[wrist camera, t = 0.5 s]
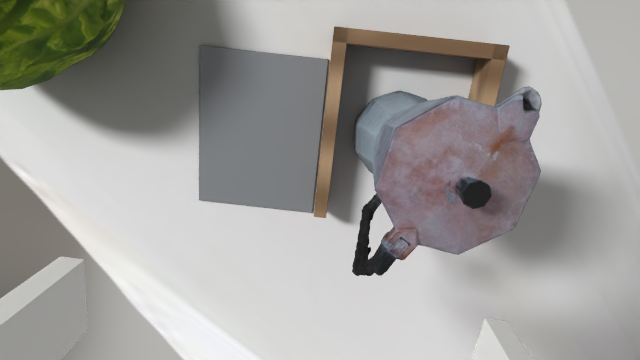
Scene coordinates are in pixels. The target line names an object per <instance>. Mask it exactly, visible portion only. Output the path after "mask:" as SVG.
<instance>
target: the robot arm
mask: <svg viewBox="0 0 640 360" xmlns="http://www.w3.org/2000/svg"><path fill="white" fill-rule="evenodd" d="M86 331H88V321H87V302H86V285H85V267H84V260H82V259H75V258H68V257H59V258H58V259H56V260H55V261H53V262H52V263H51V264H49V265H48V266H46V267H45V268H43V269H42V270H41V271H39V272H38V273H36V274H35V275H34V276H32V277H31V278H29V279H28V280H26V281H25V282H23V283H22V284H21V285H19V286H18V287H16V288H15V289H14V290H12V291H11V292H9V293H8V294H6V295H5V296H4V297H2V298H1V299H0V360H61V359H62V358H63V356H64V355H65V354H66V353H67V352H68V351H69V350H70V349H71V348H72V347H73V346H74V345H75V344H76V343H77V341H78V340H79V339H80V338H81V337H82V336H83V335H84V334H85V333H86ZM471 360H534V359H533V358H532V356H531V355H530V353H529V352H528V350H527V349H526V347H525V346H524V344H523V343H522V341H521V340H520V338H519V337H518V335H517V334H516V332H515V331H514V329H513V328H512V326H511V325H510V323H509V322H508V321H502V320H495V319H488V318H485V319H484V322H483V325H482V328H481V332H480V335H479V338H478V341H477V344H476V347H475V350H474V353H473V356H472V359H471Z"/></svg>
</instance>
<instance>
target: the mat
mask: <svg viewBox="0 0 640 360" xmlns="http://www.w3.org/2000/svg"><path fill="white" fill-rule="evenodd" d="M327 65H328V59H320V58H311V57H302V56H292V55H283V54H274V53H265V52H256V51H247V50H238V49H228V48H219V47H210V46H201V45H200V99H199V200H202V201H211V202H220V203H229V204H238V205H247V206H256V207H265V208H274V209H283V210H292V211H301V212H310V213H312V207H313V198H314V188H315V179H316V169H317V160H318V150H319V141H320V131H321V122H322V112H323V103H324V93H325V84H326V74H327Z"/></svg>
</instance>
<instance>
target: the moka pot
mask: <svg viewBox="0 0 640 360" xmlns="http://www.w3.org/2000/svg"><path fill="white" fill-rule="evenodd" d="M540 108H541V98H540V95H539V93H538V92H537V91H536V90H534V89H533V88H532V87H524V88H522V89H520V90H518V91H517V92H516V93H514V94H513V95H512V96H510V97H509V98H507V99H506V100H504V101H503V102H501V103H499V104H497V105H495V106H491V105H487V104H483V103H480V102H476V101H473V100H470V99H467V98H464V97H461V96H457V95H456V96H450V97H445V98H441V99H438V100H431V101H428V100H426V99H424V98H422V97H419V96H416V95H413V94H410V93H407V92H403V91H396V92H392V93H389V94H385V95H382V96H380V97H377V98H375V99H373V100H372V101H371V102H370V103H369V104H368V105H367V107H366V108H365V109H364V110H363V112H362V113H361V115H360V116H359V117H358V119H357V121H356V123H355V132H354V141H355V152H356V153H357V155H358V156H359V157H360V159H361V160H362V162H363V163H364V164H365V166H366V167H367V169H368V170H369V171H370V172H371V173H373V176H374V185H375V191H376V193H377V194H376V195H374V196H373V198H372V199H371V200H370V201H369V202H368V204H366V205H365V206H364V207H363V210H362V220H361V221H360V230H359V234H358V242H357V246H356V251H355V259H354V262H353V270H352V272H353V273H354V274H355V275H356V276H359V275H367V276H371V275H372V274H373V273H376V274H377V275H382V274H384V273H385V272H386V271H387V270H388V269H389V267H390V266H391V265H392V264H393V262H394V261H395V260H396V259H400V260H404V259H405V258H406V257H407V256H408V255H409V254H410V253H411V252H412V251H413V250H414V249H415V248H416V247H417V245H422V246H427V247H431V248H434V249H438V250H441V251H445V252H449V253H453V254H460V253H463V252H465V251H467V250H469V249H472V248H474V247H476V246H478V245H480V244H482V243H484V242H487V241H489V240H491V239H493V238H495V237H497V236H499V235H501V234H503V233H505V232H507V231H510V230H512V229H513V228H514V227H515V226H516V224H517V221H518V219H519V217H520V215H521V213H522V211H523V209H524V206H525V204H526V202H527V200H528V198H529V196H530V194H531V192H532V190H533V188H534V186H535V184H536V182H537V180H538V179H539V176H540V172H541V170H540V167H539V164H538V161H537V159H536V156H535V154H534V151H533V149H532V146H531V143H530V137H531V134H532V132H533V130H534V128H535V126H536V123H537V121H538V119H539V111H540ZM381 202H382V203H383V205H384V207H385V209H386V211H387V213H388V215H389V217H390V219H391V221H392V223H393V225H394V227H393V228H392V230H391V231H390V232H387V233H386V234H385V236H384V237H383V239H382V240H381V244H380V246H379V248H378V249H377V251H376V253H375V254H374V256H373V257H372V258H370V259H369V260H368V255H369V253H370V251H371V248H370V247H369V248H368V244H369V236H368V235H369V230H370V221H371V220H372V218H373V214H374V212H375V211H376V209H377V208H378V206H379V205H380V204H381Z"/></svg>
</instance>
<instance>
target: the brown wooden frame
mask: <svg viewBox="0 0 640 360" xmlns="http://www.w3.org/2000/svg"><path fill="white" fill-rule="evenodd" d="M346 45H353V46H363V47H372V48H381V49H390V50H399V51H408V52H418V53H427V54H436V55H445V56H454V57H463V58H473V59H477V62H476V67H475V71H474V76H473V80H472V85H471V89H470V94H469V98H468V99H470V100H473V101H476V102H480V103H483V104H487V105H491V106H495V103H496V98H497V94H498V90H499V86H500V82H501V78H502V74H503V70H504V66H505V62H506V58H507V54H508V50H509V46H508V45H499V44H490V43H481V42H472V41H462V40H453V39H444V38H435V37H426V36H416V35H407V34H398V33H389V32H380V31H371V30H361V29H352V28H343V27H334V35H333V44H332V53H331V63H330V72H329V81H328V90H327V100H326V109H325V118H324V128H323V137H322V146H321V156H320V165H319V174H318V184H317V193H316V202H315V212H314V217H322V218H326V213H327V204H328V196H329V187H330V179H331V171H332V162H333V154H334V145H335V137H336V128H337V120H338V111H339V103H340V94H341V86H342V78H343V69H344V61H345V52H346Z"/></svg>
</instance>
